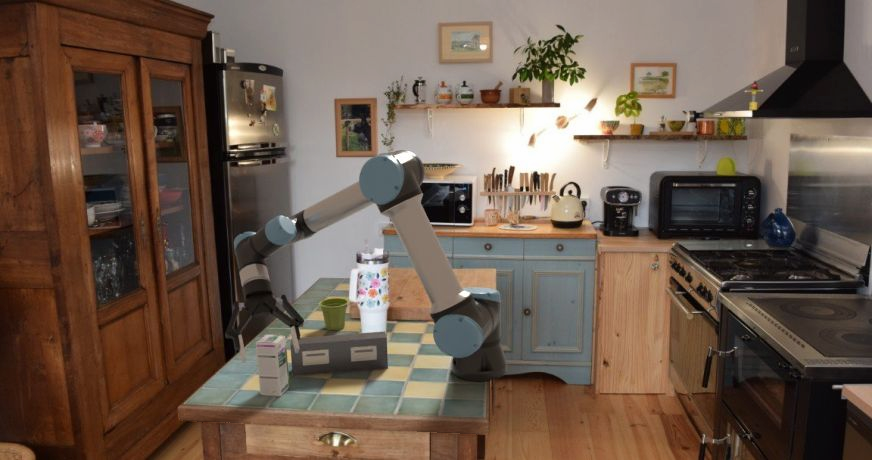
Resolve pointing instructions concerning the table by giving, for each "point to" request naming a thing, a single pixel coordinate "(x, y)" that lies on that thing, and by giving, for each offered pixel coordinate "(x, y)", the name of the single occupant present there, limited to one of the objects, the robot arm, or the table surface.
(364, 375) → the table surface
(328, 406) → the table surface
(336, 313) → the plant pot
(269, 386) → the syrup box
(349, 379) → the table surface
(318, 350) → the box
